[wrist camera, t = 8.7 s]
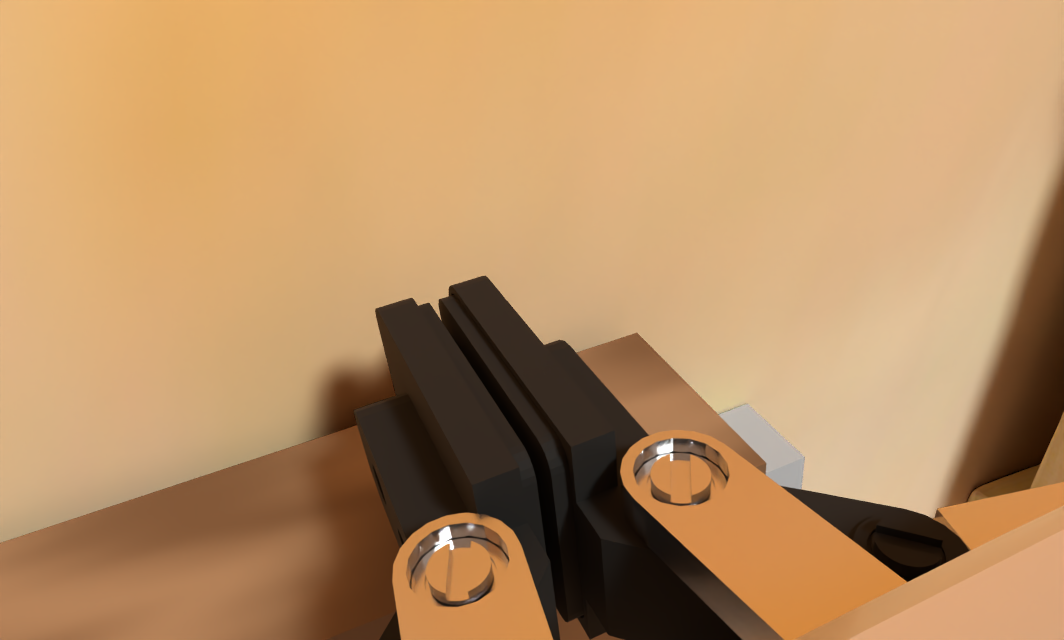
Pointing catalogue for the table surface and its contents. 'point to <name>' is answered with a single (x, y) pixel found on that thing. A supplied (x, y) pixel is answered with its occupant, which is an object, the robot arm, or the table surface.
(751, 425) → the stool seat
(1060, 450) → the toy sofa
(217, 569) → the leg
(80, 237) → the table surface
